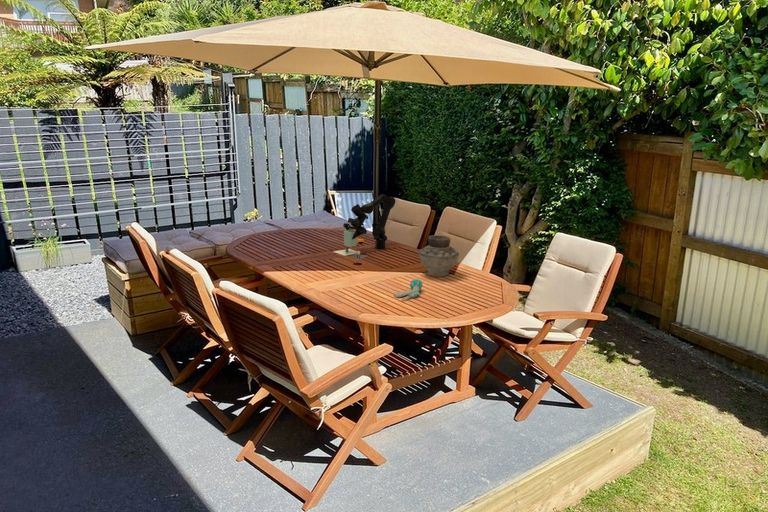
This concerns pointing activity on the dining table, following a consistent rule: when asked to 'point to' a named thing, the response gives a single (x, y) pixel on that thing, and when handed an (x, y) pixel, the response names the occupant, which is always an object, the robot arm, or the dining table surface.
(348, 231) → the sleeve
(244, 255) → the dining table surface
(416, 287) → the garden hose nozzle
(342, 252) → the board
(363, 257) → the stand
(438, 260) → the ceramic pot
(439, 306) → the dining table surface
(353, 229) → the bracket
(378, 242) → the robot arm
